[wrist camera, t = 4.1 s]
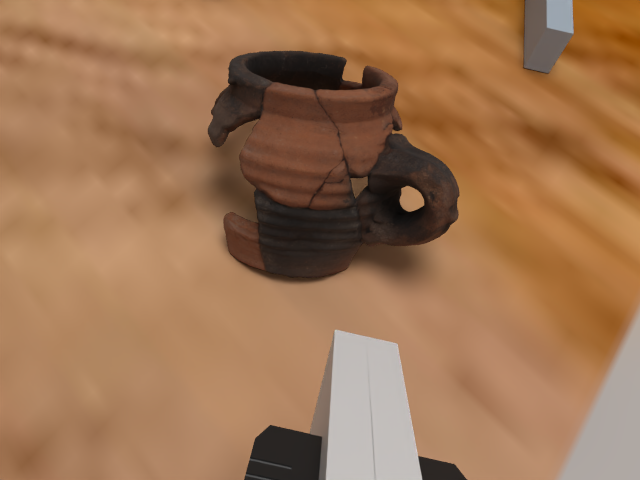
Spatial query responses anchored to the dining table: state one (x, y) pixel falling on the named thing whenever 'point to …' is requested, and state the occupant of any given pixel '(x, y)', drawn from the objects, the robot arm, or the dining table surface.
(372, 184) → the pottery mug
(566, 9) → the seat channel
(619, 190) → the dining table surface
